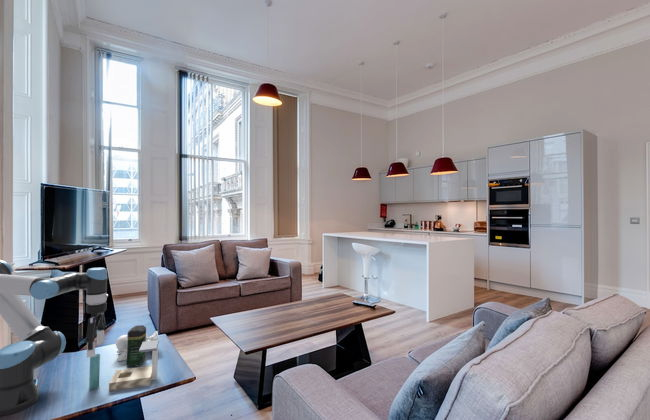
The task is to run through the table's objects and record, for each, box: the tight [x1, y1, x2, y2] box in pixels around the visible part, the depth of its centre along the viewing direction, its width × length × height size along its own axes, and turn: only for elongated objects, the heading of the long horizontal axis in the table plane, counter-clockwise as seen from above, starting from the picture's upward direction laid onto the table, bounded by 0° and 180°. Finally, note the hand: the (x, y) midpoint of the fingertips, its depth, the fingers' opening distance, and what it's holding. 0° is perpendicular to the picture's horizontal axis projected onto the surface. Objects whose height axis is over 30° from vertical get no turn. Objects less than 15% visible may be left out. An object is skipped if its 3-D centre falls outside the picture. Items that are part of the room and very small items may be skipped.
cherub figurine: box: [115, 330, 159, 362], centre depth 175 cm, size 13×12×20 cm
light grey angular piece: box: [139, 339, 160, 381], centre depth 150 cm, size 7×10×16 cm
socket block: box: [108, 365, 153, 392], centre depth 148 cm, size 16×12×4 cm
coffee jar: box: [125, 324, 147, 368], centre depth 166 cm, size 10×8×19 cm
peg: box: [88, 353, 101, 390], centre depth 143 cm, size 4×4×14 cm
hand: (95, 350), depth 143 cm, fingers open, 13 cm apart
